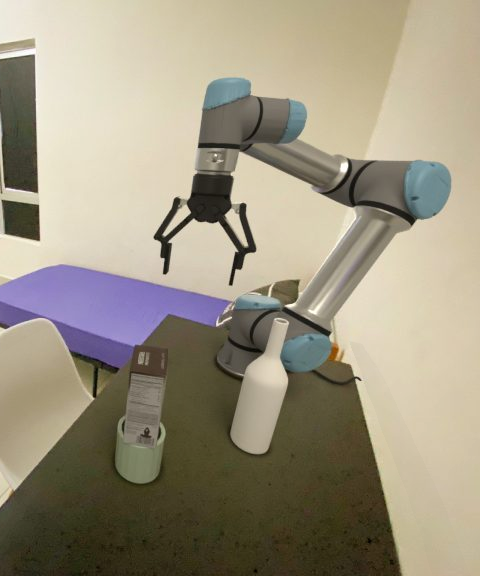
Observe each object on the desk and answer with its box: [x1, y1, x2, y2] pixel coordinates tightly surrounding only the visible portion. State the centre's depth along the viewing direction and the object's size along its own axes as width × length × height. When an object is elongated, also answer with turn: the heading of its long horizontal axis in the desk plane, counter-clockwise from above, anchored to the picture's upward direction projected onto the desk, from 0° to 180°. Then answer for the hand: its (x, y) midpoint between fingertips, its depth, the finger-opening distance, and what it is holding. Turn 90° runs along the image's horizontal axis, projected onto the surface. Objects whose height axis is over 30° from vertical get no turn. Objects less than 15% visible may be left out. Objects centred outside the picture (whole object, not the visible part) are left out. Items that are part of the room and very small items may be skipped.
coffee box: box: [123, 344, 169, 449], centre depth 62 cm, size 9×6×16 cm
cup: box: [114, 414, 166, 485], centre depth 66 cm, size 9×9×9 cm
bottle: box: [229, 318, 289, 455], centre depth 69 cm, size 8×8×30 cm
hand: (197, 278), depth 71 cm, fingers open, 13 cm apart
